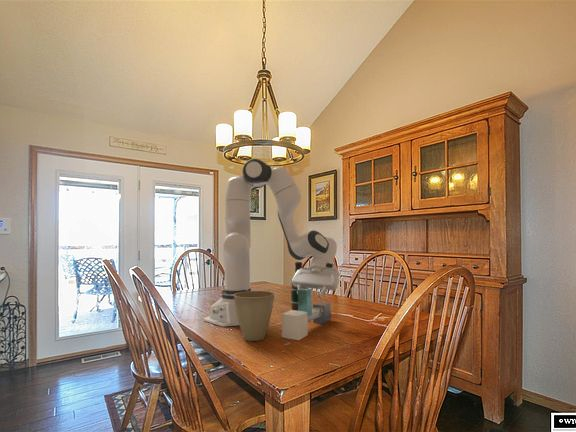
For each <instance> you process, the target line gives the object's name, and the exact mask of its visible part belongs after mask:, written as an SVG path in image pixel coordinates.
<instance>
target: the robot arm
mask: <svg viewBox="0 0 576 432" xmlns="http://www.w3.org/2000/svg"><path fill="white" fill-rule="evenodd" d="M241 170H242V174H241V175H239V176H237V175H236V176H232V177H230V178H229V179H228V181H227V184H226V190H225V202H224V203H225V204H224V205H225V207H224V208H225V209H224V220H225V234H226V235H225V238H224V239H223V243H222V246H223V247H222V249H223V250H222V252H223V267H224V289H222V290H221V291H219V294H221V297H220V298H219V299H218V300H217V301H216V302H214V303H213V304H212V305H211V306H210V310H209V315H208V316H205V318H203V322H207V323H210V324H213V325H217V326H220V327H222V328H223V327H224V328H225V327H232V326H233V327H234V326H235V327H236V326H240V325H239V321H238V317H237V313H236V307H235V300H234V294H235V293H239V292H246V291H252V288H251V265H250V264H251V263H250V262H251V261H250V248H251V193H252V191H254V190H256V189H260V188H263V187H265V186H267V187H269V189H270V190H271V192H272V195H273V196H274V198H275V202H276V205H277V217H278V221H279V223H280V226H281V229H282V231H283V235H284V236H285V237H284V238H285V240H286V245H287V249H288V253H289V255H290V256H291V258H293V259H295V260H297V261H302V260H304V259H306V258H308V257H309V256H311V257H312V259H311V262H310V264H309V267H302V268H301V269H299V270H297V272H296V273H295V272H294V275H293V277H292V279H291V284H292V283H293V285H294V286H295V287H298V289H302V287H303V288H307V289H315V290H320V291H318V292H317V294H316V295H317V297H318V298H320V299H322V298H323V296H324V295H325V294H326V293H327V292H328V291H336V290H338V286H339V282H340V276H341V275H340V271H339V270H338V267H337V265H336V264H335V263H334V264H333V262H334V260H335V258H336V254H337V250H338V245H337V242H336V240H335V239H334V238H332V237H330V236H324V235H323V234H322V233H321V232H319V231H318V230H310V231H308V232H306V233H304V234H302V235H300V236H299V234H298V232H297V227H296V226H295V223H294V213H296V212H295V211H296V209H297V208H298V207H299V206H300V203H301V198H302V195H301V192H300V189H299V188H298V185H297V183H296V182H295V180H294V178H293V177H292V175H291V174H290V172H289V171H288V170H287V168H285V167H283V166H276V167H274V168H272V167H271V166H270V165H268V164H267V163H266V162H264V161H263V160H261V159H258V158H250V159H248V160H247V161H246V162H245V163H244V164H243V166H242V169H241ZM297 295H298V291H297Z"/></svg>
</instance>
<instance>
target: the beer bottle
mask: <svg viewBox="0 0 576 432" xmlns="http://www.w3.org/2000/svg"><path fill="white" fill-rule="evenodd" d="M294 265H295V269H294V270H295V272H294V274H295V273H296V272H297V270H299V269H301V268H303V266H302V265H303V262H302V261H295V262H294ZM290 285H291V287H290V290H291V291H290V295H291V296H290V299H291V300H290V301H291V302H290V303H291V305H290V307H291V309H290V310H296V311H298V295H297V291H298V287H295V286H294V285H293V283H292V282H291V284H290ZM302 288H303V287H302ZM306 289H308V288H306Z"/></svg>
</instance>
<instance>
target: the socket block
mask: <svg viewBox="0 0 576 432" xmlns="http://www.w3.org/2000/svg"><path fill="white" fill-rule="evenodd" d="M308 323H309V322H308V317H307V312H304V311H296V310H292V309H290V310H288V311H285V312H283V313H281V338H284V339H290V340H295V341H300V340H301V339H303V338H306V337H307V336H308V335H309V334H308V333H309V330H308V329H309V328H308V325H309V324H308Z"/></svg>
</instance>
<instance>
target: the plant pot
mask: <svg viewBox="0 0 576 432" xmlns="http://www.w3.org/2000/svg"><path fill="white" fill-rule="evenodd" d="M274 299H275V292H273V291H266V290H251V291H246V292H239V293H235V294H234V300H235V307H236V313H237V317H238V321H239V325H238V326H239V328H240V332H241V335H242V336H243V339H244V340H246V341H248V342H258V341H261V340H264V339H265V336H266V333H267V330H268V327H269V324H270V321H271V316H272V312H273V306H274Z"/></svg>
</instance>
